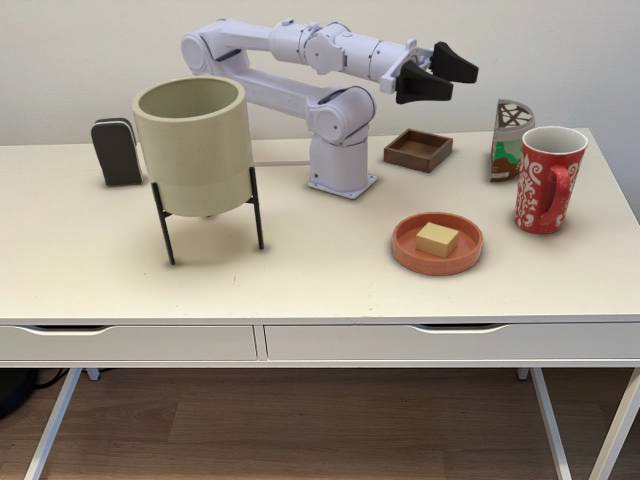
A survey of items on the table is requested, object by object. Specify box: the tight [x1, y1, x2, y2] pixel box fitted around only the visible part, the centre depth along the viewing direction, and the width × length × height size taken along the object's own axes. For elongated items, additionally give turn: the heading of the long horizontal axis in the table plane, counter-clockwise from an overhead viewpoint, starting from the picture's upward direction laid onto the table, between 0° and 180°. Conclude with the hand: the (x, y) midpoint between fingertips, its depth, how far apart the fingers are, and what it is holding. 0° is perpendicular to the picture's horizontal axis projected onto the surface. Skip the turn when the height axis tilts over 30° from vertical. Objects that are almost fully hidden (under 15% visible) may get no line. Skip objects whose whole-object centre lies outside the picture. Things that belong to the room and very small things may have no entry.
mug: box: [513, 125, 590, 235], centre depth 97 cm, size 13×9×14 cm
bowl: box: [391, 211, 484, 276], centre depth 98 cm, size 13×13×2 cm
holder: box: [382, 128, 454, 174], centre depth 119 cm, size 9×9×2 cm
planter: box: [131, 75, 265, 266], centre depth 96 cm, size 15×16×23 cm
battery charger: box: [90, 117, 144, 187], centre depth 116 cm, size 7×4×11 cm, turn 92°
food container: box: [489, 98, 536, 183], centre depth 111 cm, size 12×6×10 cm, turn 168°
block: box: [415, 222, 459, 258], centre depth 98 cm, size 5×4×2 cm
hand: (464, 83), depth 91 cm, fingers open, 7 cm apart
